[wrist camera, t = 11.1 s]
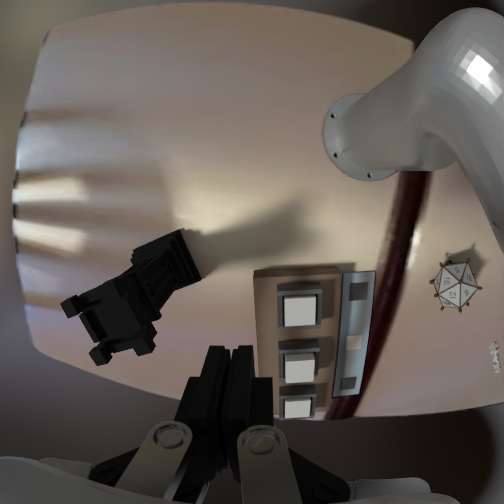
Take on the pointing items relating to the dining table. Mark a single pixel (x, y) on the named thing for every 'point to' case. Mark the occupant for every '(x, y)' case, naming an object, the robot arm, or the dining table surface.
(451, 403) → the dining table surface
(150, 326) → the chess piece
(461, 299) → the game die
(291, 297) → the button
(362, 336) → the board
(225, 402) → the robot arm
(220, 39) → the dining table surface
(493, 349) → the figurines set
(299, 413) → the button
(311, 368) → the button middle
